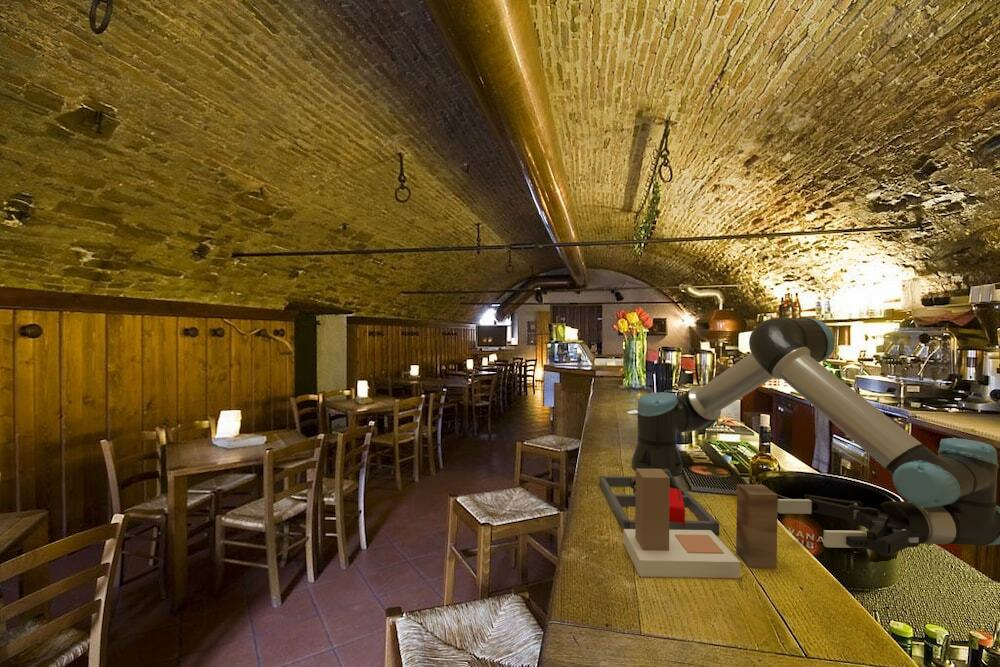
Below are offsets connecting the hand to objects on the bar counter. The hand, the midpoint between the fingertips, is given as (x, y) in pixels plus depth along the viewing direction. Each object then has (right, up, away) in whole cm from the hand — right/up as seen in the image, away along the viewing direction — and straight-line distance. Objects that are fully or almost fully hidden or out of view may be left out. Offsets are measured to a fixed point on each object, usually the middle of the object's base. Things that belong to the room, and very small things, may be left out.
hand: (799, 521), depth 84 cm
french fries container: (-20, -8, +19) cm, 29 cm away
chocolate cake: (-17, -8, +33) cm, 38 cm away
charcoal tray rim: (-20, -7, +26) cm, 33 cm away
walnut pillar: (-8, -8, +1) cm, 11 cm away
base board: (-23, -8, +1) cm, 24 cm away
